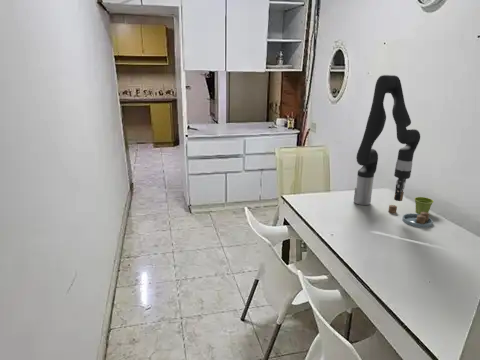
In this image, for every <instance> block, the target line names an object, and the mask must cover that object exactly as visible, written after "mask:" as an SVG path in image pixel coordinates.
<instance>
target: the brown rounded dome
mask: <svg viewBox="0 0 480 360" xmlns="http://www.w3.org/2000/svg"><path fill="white" fill-rule="evenodd" d="M397 192H400V191H397ZM395 197H396V194H395V193H394V197H393V200H394V201H396V200H395ZM403 199H404V190H403V191H402V192H401V196H400V201H399V202H402V201H403Z"/></svg>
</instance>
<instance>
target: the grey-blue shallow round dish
mask: <svg viewBox="0 0 480 360" xmlns="http://www.w3.org/2000/svg"><path fill="white" fill-rule="evenodd" d="M417 215H420V214H417V213H405V214H403V215H402V221H403V223H404V224H407V225H409V226H411V227H415V228H430V227H432V226H433V224H434V223H433V222H434V221H433V219H432V218H431V217H429V219H428V223H425V224H418V223H416V220H417Z"/></svg>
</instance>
